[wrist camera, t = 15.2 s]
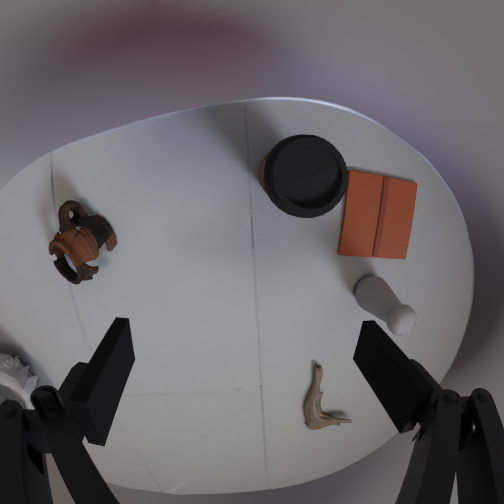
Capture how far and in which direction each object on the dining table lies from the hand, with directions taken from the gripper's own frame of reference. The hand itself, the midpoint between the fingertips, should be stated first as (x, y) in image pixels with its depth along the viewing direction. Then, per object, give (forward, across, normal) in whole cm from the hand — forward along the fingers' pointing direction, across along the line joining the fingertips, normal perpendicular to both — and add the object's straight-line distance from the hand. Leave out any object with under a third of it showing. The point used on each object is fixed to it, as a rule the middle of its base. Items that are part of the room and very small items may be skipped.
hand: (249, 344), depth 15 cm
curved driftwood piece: (+28, +21, -32) cm, 47 cm away
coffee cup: (+28, +6, +9) cm, 30 cm away
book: (+28, +23, +4) cm, 36 cm away
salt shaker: (+28, +23, -8) cm, 37 cm away
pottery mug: (+28, -22, -1) cm, 36 cm away
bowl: (+27, -47, -34) cm, 64 cm away
